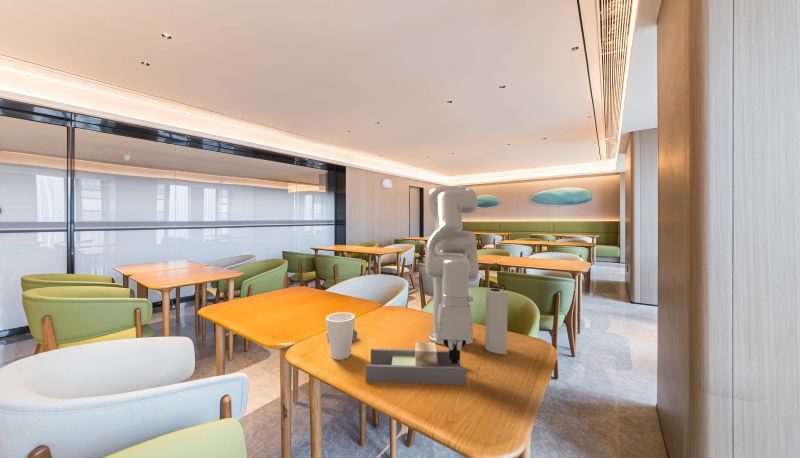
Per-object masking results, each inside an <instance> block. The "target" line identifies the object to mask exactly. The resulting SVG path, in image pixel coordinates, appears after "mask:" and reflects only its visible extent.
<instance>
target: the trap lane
mask: <svg viewBox="0 0 800 458" xmlns="http://www.w3.org/2000/svg"><path fill="white" fill-rule="evenodd" d="M436 351H437V365H436V366H406V365H392V358H393V355H396V356H415V349H402V348H401V349H399V348H398V349H393V348H388V349H387V348H370V363H369V364H367V363H366V364H365V383H388V384H389V383H391V384H392V383H395V384H419V385H420V384H423V385H424V384H425V385H426V384H427V385H428V384H429V385H458V386H460V385H461V386H463V385H464V386H467V368H466V366H461V359H460V360H458V364H456V363H454V364H452V362H451V360H449V350H440V349H439V350H438V349H436Z"/></svg>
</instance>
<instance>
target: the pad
mask: <svg viewBox="0 0 800 458" xmlns="http://www.w3.org/2000/svg"><path fill="white" fill-rule="evenodd" d="M392 365H406V366H415V356H396V355H393V358H392Z"/></svg>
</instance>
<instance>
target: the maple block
mask: <svg viewBox="0 0 800 458" xmlns="http://www.w3.org/2000/svg"><path fill="white" fill-rule="evenodd" d="M414 343H415V347H414V350H415V366H436V365H437V351H436V350H437V346H436V343H435V342H422V341H421V342H414Z"/></svg>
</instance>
